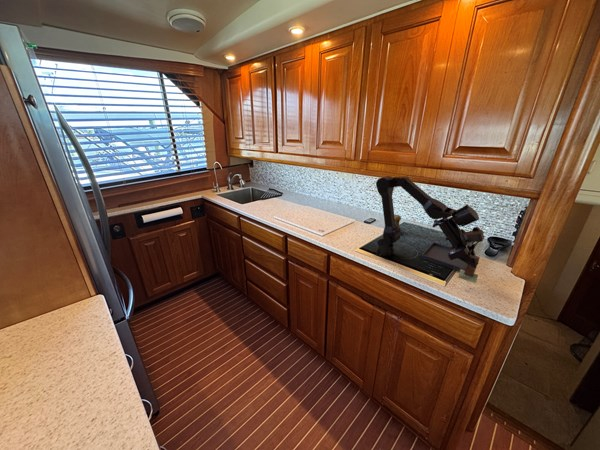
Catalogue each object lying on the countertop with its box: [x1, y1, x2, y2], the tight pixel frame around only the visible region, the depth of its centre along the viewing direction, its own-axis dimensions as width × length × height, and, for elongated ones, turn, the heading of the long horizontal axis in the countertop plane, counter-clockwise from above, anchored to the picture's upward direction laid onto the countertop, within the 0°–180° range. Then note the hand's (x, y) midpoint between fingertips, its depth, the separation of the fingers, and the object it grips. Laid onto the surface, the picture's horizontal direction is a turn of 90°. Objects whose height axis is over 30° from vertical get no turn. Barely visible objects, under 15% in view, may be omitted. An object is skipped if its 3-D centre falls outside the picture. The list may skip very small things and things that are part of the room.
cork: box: [394, 214, 402, 228], centre depth 143 cm, size 6×6×11 cm
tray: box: [420, 241, 467, 273], centre depth 117 cm, size 19×19×2 cm
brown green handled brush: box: [457, 254, 480, 284], centre depth 94 cm, size 6×4×10 cm, turn 50°
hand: (476, 265), depth 92 cm, fingers closed on brown green handled brush, 3 cm apart
